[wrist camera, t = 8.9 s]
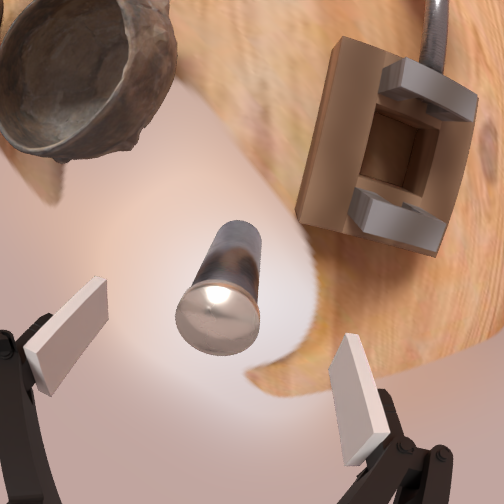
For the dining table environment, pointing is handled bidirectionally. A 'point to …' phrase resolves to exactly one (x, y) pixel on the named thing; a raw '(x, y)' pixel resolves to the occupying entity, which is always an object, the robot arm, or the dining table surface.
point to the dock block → (355, 141)
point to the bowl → (84, 75)
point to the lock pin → (434, 36)
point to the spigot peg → (224, 294)
